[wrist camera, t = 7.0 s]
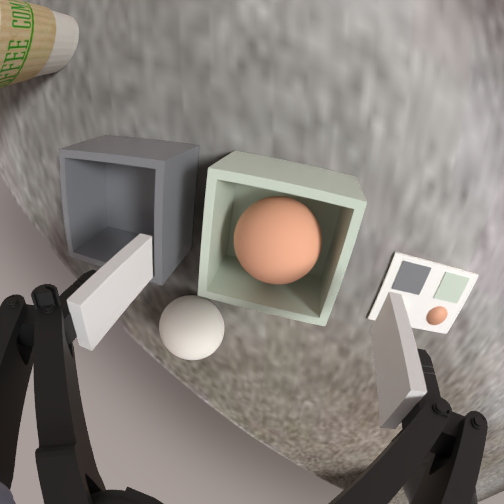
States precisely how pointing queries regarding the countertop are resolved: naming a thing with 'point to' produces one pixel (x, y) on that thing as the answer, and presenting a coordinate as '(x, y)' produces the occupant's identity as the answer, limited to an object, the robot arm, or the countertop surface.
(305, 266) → the ball terracotta
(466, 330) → the countertop surface
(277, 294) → the sage open box
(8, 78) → the coffee cup
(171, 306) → the ball white
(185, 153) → the grey open cubby box
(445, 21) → the countertop surface
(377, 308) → the card
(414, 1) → the countertop surface
